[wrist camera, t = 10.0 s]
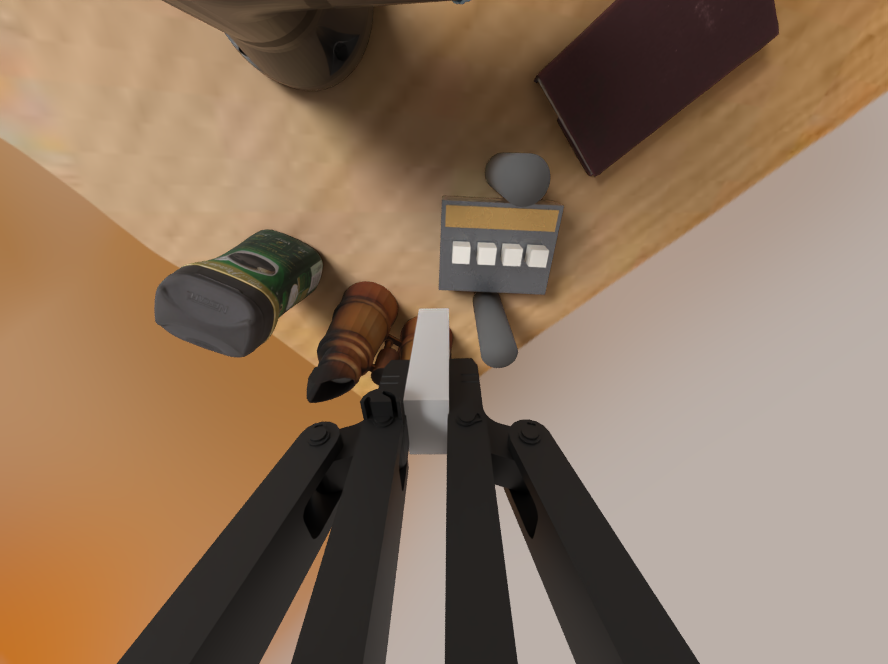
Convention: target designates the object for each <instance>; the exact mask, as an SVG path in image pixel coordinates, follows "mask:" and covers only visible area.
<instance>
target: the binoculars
mask: <svg viewBox="0 0 888 664" xmlns="http://www.w3.org/2000/svg"><path fill="white" fill-rule="evenodd" d="M397 314H398V306H397V303H396V300H395V298H394V296H393V295H392V294H391V292H390V291H389V290H387V289H386V288H385V287H383V286H382V285H379V284H377V283H374V282H366V281H364V282H359V283H355V284H354V285H352V286H350V287H349V288H348V289H347V290H346V292H345V293H344V295H343V298H342V300H341V303H340V304H339V305H338V306H337V308H336V309H335V310H334V313H333V317H332V322H331V324H330V326H329V328H328V330H327V332H326V335H325V336H324V337H323V339H322V340H321V341H320V343H319V345H318V349H317V355H318V360H319V364H318V367H315V368H314V370H313V371H312V373H311V374H310V376H309V378H308V384H307V399H308V401H309V402H310V403H317V402H323V401H327V400H331V399H333V398H336V397H339V396H341V395H343V394H344V393H346V392H348V391H349V390H351V389H352V388H353V387H354V386H355V385H356V384H357V383H358V382H359V379H360V377H361V376H363V375H365V374H366V373H367V372H368V371H370V372H372V373H371V378H372V381H373V382H374V383H375V384H377V385H380V381H381V378H382V374H383V370H384V367H385V366H386V365H387V364H388V363H389V362H390V361H391V360H410V359H411V353H412V347H413V341H414V336H415V330H416V324H417V319H418V316H417V317H414V318H412V319H410V320H408V322H407V323H406V324H405V325H404V326H403V328H402V330H401V335H400V340H399V339H398V338H396V337H394V336H392V335H390V334H389V332H390V329H391V326H392V325H393V323H394V322H395V319H396V317H397ZM384 341H385V347H384V349H382V350H381V351H380V352H379V353H378V356H377V359H376V361H375V364H372V363H373V361H374V357H375V355H376V353H377V352H378V350H379V348H380V346H381V344H382V343H383V342H384ZM452 342H453V336H452V332H451V330H450V328H449V349H450V359H451V348H452ZM393 344H395V345H397V346H399V348H398V352H397V351H396V350H394V349H392V348H391V346H393Z"/></svg>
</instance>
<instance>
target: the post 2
mask: <svg viewBox="0 0 888 664" xmlns="http://www.w3.org/2000/svg"><path fill="white" fill-rule="evenodd" d="M473 307H474V313H475V320H476V326H477V332H478V339H479V345H480V352H481V357H482V360H483V361H484V363H485V364H487V365H488V366H490V367H493V368H502V367H506V366H508V365H510V364H511V363H513V362H514V361H515V359H516V357H517V354H518V349H517V346H516V343H515V340H514V337H513V334H512V331H511V328H510V325H509V322H508V319H507V317H506V314H505V311H504V308H503V305H502V302H501V299H500V296H499V294H498V293H497V292H476V293H475V295H474V297H473Z"/></svg>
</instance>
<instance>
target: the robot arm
mask: <svg viewBox="0 0 888 664" xmlns="http://www.w3.org/2000/svg"><path fill="white" fill-rule="evenodd" d="M162 1H164V2H166V3H168V4H170V5H172V6H174V7H176V8H178V9H179V10H181V11H183V12H185V13H187V14H189V15H191V16H193V17H195V18H197V19H199V20H201V21H203V22H205V23H207V24H209V25H211V26H213V27H215V28H217V29H218V30H220V31H222V32H224V33H225V34H226V36H227V37H228V39H229V40H230V41H231V43H232V44H233V45H234V47H235V48H236V49H237V50H238V51H239V53H240V54H241V55H242V56H243V57H244V58H245V59H246V60H247V61H248V62H249V63H250V64H251V65H253V66H254V67H255V68H256V69H257V70H259V71H260V72H262V73H263V74H264V75H266V76H268V77H269V78H271V79H273V80H275V81H277V82H279V83H282V84H284V85H287V86H289V87H292V88H295V89H299V90H306V91H316V90H323V89H326V88H329V87H332V86H334V85H336V84H338V83H339V82H341V81H342V80H344V79H345V78H346V77H347V76H348V75H349V74H350V73H351V72H352V71H353V70H354V69H355V67H356V66H357V64H358V63H359V61H360V60H361V58H362V56H363V54H364V51H365V49H366V46H367V44H368V40H369V37H370V32H371V27H372V20H373V6H383V5H397V4H411V3H425V2H439V1H453V3H455V4H464V3H465V2H469V1H470V0H162ZM360 403H361V409H362V413H363V418H364V420H363V421H361V422H360V423H358V424H355V425H352V426H349V427H345V428H341V429H339V428H338V427H337V425H336V424H334V423H331V422H319V423H315V424H313V425H311V426H309V427H308V428H306V429H305V430H304V431H303V432H302V433H301V434H300V435H299V437H298V438H297V439H296V440H295V442H294V443H293V444H292V446H291V447H290V448H289V449H288V450H287V452H286V453H285V454H284V455H283V457H282V458H281V459H280V460H279V462H278V463H277V464H276V465H275V467H274V468H273V469H272V470H271V472H270V473H269V474H268V475H267V477H266V478H265V479H264V480H263V482H262V483H261V484H260V485H259V487H258V488H257V489H256V490H255V492H254V493H253V494H252V495H251V497H250V498H249V499H248V500H247V502H246V503H245V504H244V505H243V507H242V508H241V509H240V510H239V512H238V513H237V514H236V515H235V517H234V518H233V519H232V520H231V522H230V523H229V524H228V526H227V527H226V528H225V529H224V530H223V532H222V533H221V534H220V535H219V537H218V538H217V539H216V540H215V542H214V543H213V544H212V545H211V547H210V548H209V549H208V550H207V552H206V553H205V554H204V555H203V557H202V558H201V559H200V560H199V562H198V563H197V564H196V565H195V567H194V568H193V569H192V570H191V572H190V573H189V574H188V575H187V577H186V578H185V579H184V580H183V582H182V583H181V584H180V585H179V587H178V588H177V589H176V590H175V592H174V593H173V594H172V595H171V597H170V598H169V599H168V600H167V602H166V603H165V604H164V605H163V607H162V608H161V609H160V610H159V612H158V613H157V614H156V615H155V617H154V618H153V619H152V620H151V622H150V623H149V624H148V625H147V627H146V628H145V629H144V630H143V632H142V633H141V634H140V635H139V637H138V638H137V639H136V640H135V642H134V643H133V644H132V645H131V647H130V648H129V649H128V650H127V652H126V653H125V654H124V655H123V657H122V658H121V659H120V660H119V662H118V663H117V664H259V663H260V661H261V659H262V657H263V655H264V653H265V652H266V650H267V648H268V646H269V644H270V642H271V640H272V639H273V637H274V635H275V633H276V631H277V629H278V627H279V625H280V623H281V622H282V620H283V618H284V616H285V614H286V612H287V610H288V608H289V607H290V604H291V602H292V600H293V599H294V597H295V595H296V593H297V591H298V590H299V588H300V585H301V584H302V582H303V580H304V578H305V576H306V574H307V573H308V571H309V569H310V567H311V565H312V563H313V561H314V559H315V558H316V556H317V554H318V552H319V550H320V548H321V546H322V544H323V542H324V541H325V539H326V537H327V535H328V533H329V531H330V529H331V532H330V535H329V539H328V542H327V545H326V548H325V552H324V555H323V558H322V562H321V566H320V568H319V572H318V575H317V579H316V582H315V585H314V588H313V592H312V595H311V599H310V602H309V605H308V609H307V612H306V615H305V619H304V622H303V626H302V629H301V632H300V635H299V639H298V642H297V645H296V649H295V652H294V655H293V659H292V662H291V664H385V662H386V653H387V645H388V635H389V628H390V620H391V611H392V603H393V594H394V586H395V578H396V570H397V561H398V553H399V544H400V536H401V528H402V519H403V510H404V503H405V494H406V485H407V477H408V468H409V467H408V451H409V452H410V454H447V503H446V505H447V508H446V512H447V513H446V603H445V607H446V608H445V609H446V612H445V664H518V662H517V654H516V647H515V638H514V630H513V623H512V616H511V607H510V599H509V591H508V584H507V576H506V569H505V560H504V553H503V545H502V537H501V530H500V522H499V514H498V506H497V498H496V490H495V484H496V485H499V486H502V487H504V490H505V493H506V495H507V497H508V500H509V502H510V505H511V507H512V510H513V512H514V514H515V517H516V519H517V521H518V524H519V527H520V528H521V531H522V533H523V536H524V539H525V541H526V543H527V545H528V548H529V550H530V553H531V556H532V558H533V560H534V563H535V565H536V568H537V570H538V572H539V575H540V577H541V580H542V582H543V585H544V587H545V589H546V592H547V594H548V597H549V599H550V601H551V604H552V606H553V609H554V611H555V614H556V616H557V618H558V621H559V623H560V625H561V628H562V630H563V633H564V635H565V638H566V640H567V642H568V645H569V647H570V650H571V652H572V655H573V657H574V659H575V662H576V664H700V663H699V662H698V660H697V659H696V657H695V656H694V654H693V653H692V651H691V649H690V648H689V646H688V645H687V643H686V642H685V640H684V639H683V637H682V636H681V634H680V632H679V631H678V630H677V628H676V626H675V625H674V623H673V622H672V620H671V619H670V617H669V616H668V614H667V612H666V611H665V609H664V608H663V606H662V605H661V603H660V602H659V600H658V599H657V597H656V595H655V594H654V593H653V591H652V589H651V588H650V586H649V585H648V583H647V582H646V580H645V579H644V577H643V576H642V574H641V572H640V571H639V569H638V568H637V566H636V565H635V563H634V562H633V560H632V559H631V557H630V555H629V554H628V552H627V551H626V550H625V548H624V546H623V545H622V543H621V542H620V540H619V539H618V537H617V535H616V534H615V532H614V531H613V529H612V528H611V526H610V525H609V523H608V522H607V520H606V519H605V517H604V515H603V514H602V512H601V511H600V509H599V508H598V506H597V505H596V503H595V502H594V500H593V498H592V497H591V495H590V494H589V492H588V491H587V489H586V488H585V486H584V485H583V483H582V482H581V480H580V479H579V477H578V475H577V474H576V472H575V471H574V469H573V468H572V466H571V465H570V463H569V462H568V460H567V458H566V457H565V455H564V454H563V452H562V451H561V449H560V448H559V446H558V445H557V443H556V442H555V440H554V438H553V437H552V435H551V434H550V432H549V431H548V430H547V429H546V428H545V427H544V426H543V425H541V424H540V423H538V422H536V421H532V420H519V421H517V422H514V423H513V424H512V425H511V426H507V425H504V424H500V423H497V422H495V421H493V420H492V419H490V418H489V417H488V416H487V415H486V414H485V412H484V410H483V405H482V397H481V389H480V383H479V373H478V366H477V364H476V363H475V362H474V360H473V359H472V358H458V359H450V349H449V308H436V309H419V313H418V319H417V324H416V330H415V336H414V341H413V347H412V353H411V359H410V360H391V361H390V362H389V363H388V364H387V365H386V366H385V367H384V370H383V374H382V378H381V381H380V385H379V388H378V389H375V390H373V391H370V392H368V393H367V394H366V395H365V396H363V398H362V399H361V401H360ZM331 527H332V528H331Z"/></svg>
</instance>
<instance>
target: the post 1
mask: <svg viewBox="0 0 888 664" xmlns="http://www.w3.org/2000/svg"><path fill="white" fill-rule="evenodd" d="M485 177H486V180H487V182H488V184H489V185H490V186H491V187H492V188H493V189H495V190H496V191H497V192H498V193H499V194H500V195H502V196H503V197H504V198H505V199H506V200H507V201H509V202H510V203H511V204H513V205H515V206H518V207H528V206H531V205H533V204H535V203H537V202H538V201H539V200H540V199H541V198H542V197H543V196H544V195H545V193H546V192H547V190H548V187H549V184H550V170H549V167H548V165H547V163H546V162H545V160H544V159H543V158H541V157H540V156H538V155H536V154H531V153H498V154H496V155H494V156H493V157H491V158H490V160H489V161H488V163H487V165H486V168H485Z"/></svg>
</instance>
